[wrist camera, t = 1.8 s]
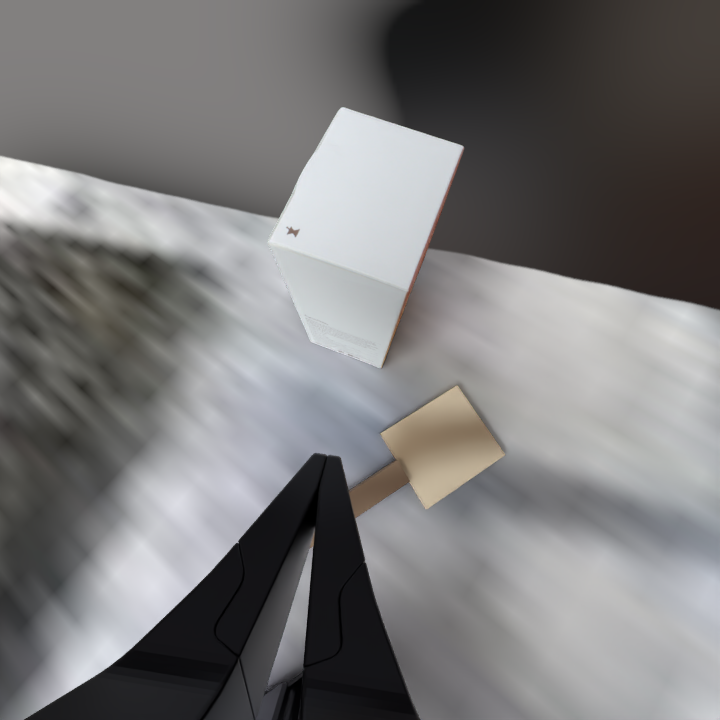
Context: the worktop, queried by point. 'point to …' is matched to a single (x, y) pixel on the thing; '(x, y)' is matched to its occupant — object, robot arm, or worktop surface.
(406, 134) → the small box
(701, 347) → the worktop surface
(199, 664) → the robot arm
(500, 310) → the worktop surface
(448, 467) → the wooden turner
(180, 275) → the worktop surface
